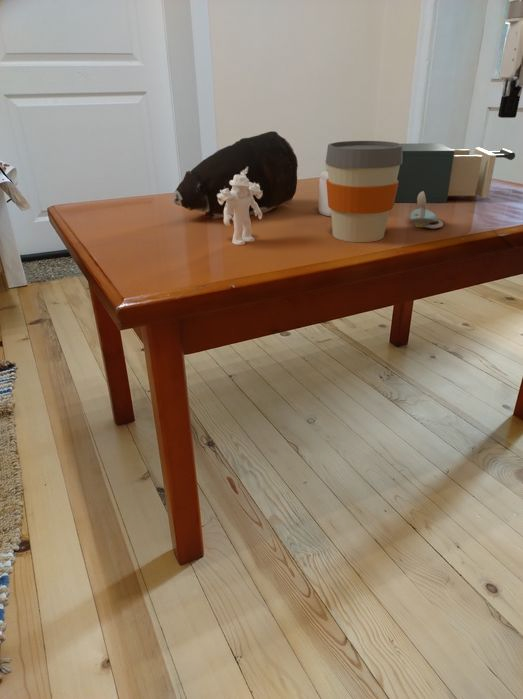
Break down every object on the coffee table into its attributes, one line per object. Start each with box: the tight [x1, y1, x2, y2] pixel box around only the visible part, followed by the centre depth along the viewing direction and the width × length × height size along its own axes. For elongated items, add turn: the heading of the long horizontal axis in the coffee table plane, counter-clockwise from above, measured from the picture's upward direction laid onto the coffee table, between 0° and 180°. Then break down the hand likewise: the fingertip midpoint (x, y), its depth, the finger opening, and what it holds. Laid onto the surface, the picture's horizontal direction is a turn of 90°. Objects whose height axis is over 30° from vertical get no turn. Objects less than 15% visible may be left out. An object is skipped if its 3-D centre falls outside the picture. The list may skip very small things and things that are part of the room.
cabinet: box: [394, 142, 454, 204], centre depth 116 cm, size 16×14×11 cm
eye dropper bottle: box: [317, 158, 331, 217], centre depth 102 cm, size 4×6×12 cm
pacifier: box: [409, 191, 444, 230], centre depth 93 cm, size 7×6×6 cm
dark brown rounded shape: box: [172, 130, 299, 220], centre depth 104 cm, size 15×15×25 cm
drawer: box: [448, 147, 516, 199], centre depth 115 cm, size 20×13×9 cm, turn 84°
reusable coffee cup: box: [325, 140, 403, 243], centre depth 87 cm, size 13×13×15 cm
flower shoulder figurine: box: [217, 167, 263, 246], centre depth 85 cm, size 9×4×12 cm, turn 135°
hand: (506, 117), depth 107 cm, fingers closed
